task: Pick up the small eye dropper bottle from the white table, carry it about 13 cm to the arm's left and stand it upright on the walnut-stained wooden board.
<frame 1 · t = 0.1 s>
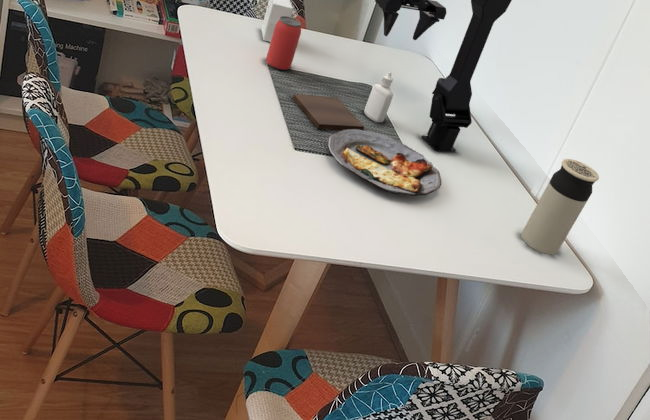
hand: (399, 37, 188), 15 cm above the table, tool pointing down, fingers open, 9 cm apart
walnut board: (327, 114, 171), on the table
eye dropper bottle: (372, 118, 178), on the table
travel mug: (538, 244, 150), on the table
food plate: (382, 169, 156), on the table
beer can: (277, 65, 187), on the table
small box: (271, 38, 203), on the table
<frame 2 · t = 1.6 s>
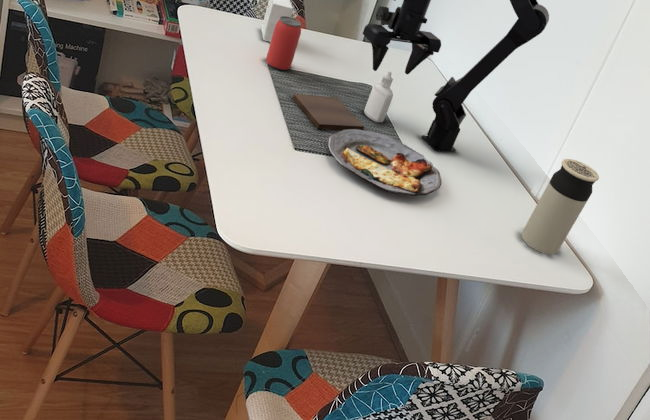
hand: (390, 72, 173), 12 cm above the table, tool pointing down, fingers open, 9 cm apart
nothing on the table moved.
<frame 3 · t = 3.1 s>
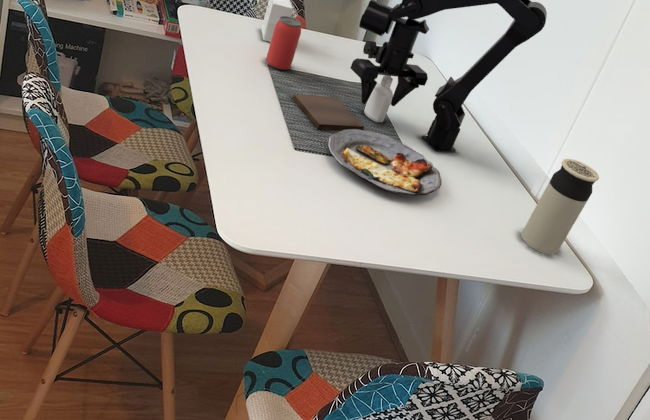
hand: (377, 104, 176), 4 cm above the table, tool pointing down, fingers closed on eye dropper bottle, 8 cm apart
eye dropper bottle: (372, 118, 178), on the table, touching gripper
everything else where it was.
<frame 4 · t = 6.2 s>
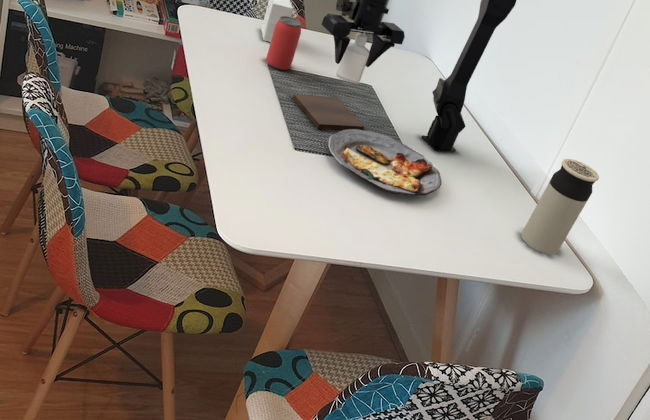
hand: (352, 64, 166), 13 cm above the table, tool pointing down, fingers closed on eye dropper bottle, 8 cm apart
eye dropper bottle: (347, 79, 168), point 9 cm above the table, touching gripper
everything else where it was.
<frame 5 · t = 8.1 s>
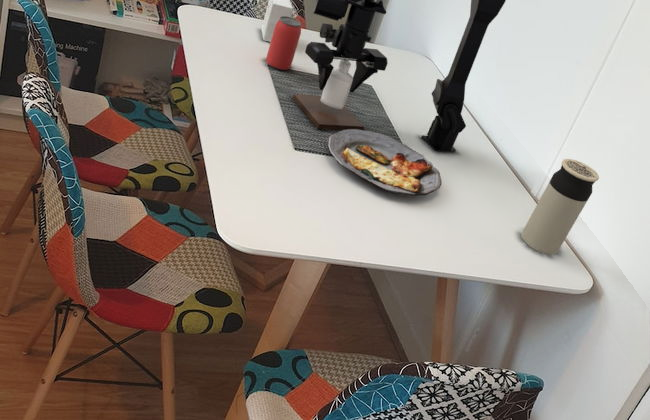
hand: (336, 90, 168), 6 cm above the table, tool pointing down, fingers closed on eye dropper bottle, 8 cm apart
eye dropper bottle: (331, 105, 170), point 2 cm above the table, touching gripper
everything else where it was.
when the fingers open (5 cm above the table, at t = 9.4 s): eye dropper bottle stays where it is, resting on walnut board.
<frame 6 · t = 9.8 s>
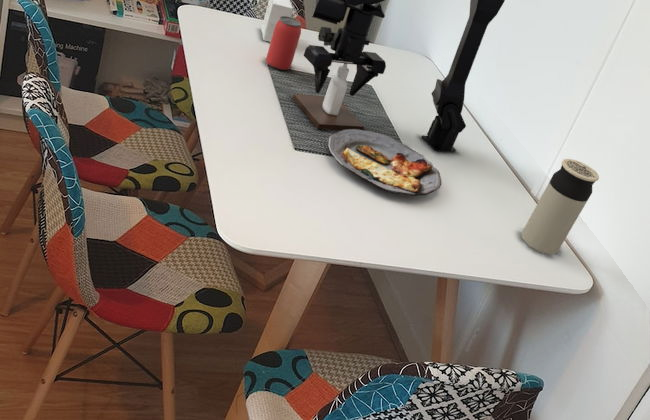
hand: (334, 93, 168), 5 cm above the table, tool pointing down, fingers open, 9 cm apart
eye dropper bottle: (329, 111, 171), point 1 cm above the table, touching walnut board
everything else where it was.
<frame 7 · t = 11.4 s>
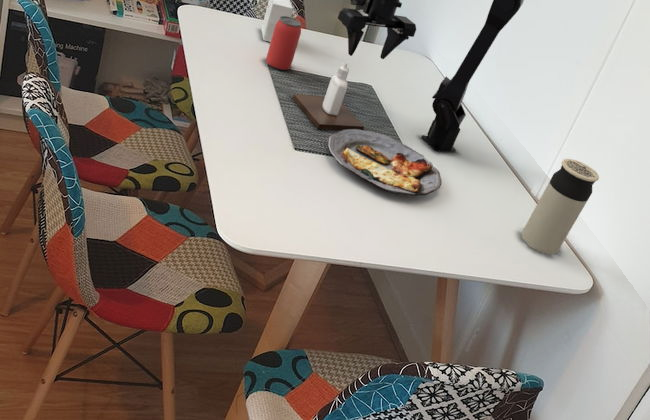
hand: (366, 56, 173), 13 cm above the table, tool pointing down, fingers open, 9 cm apart
nothing on the table moved.
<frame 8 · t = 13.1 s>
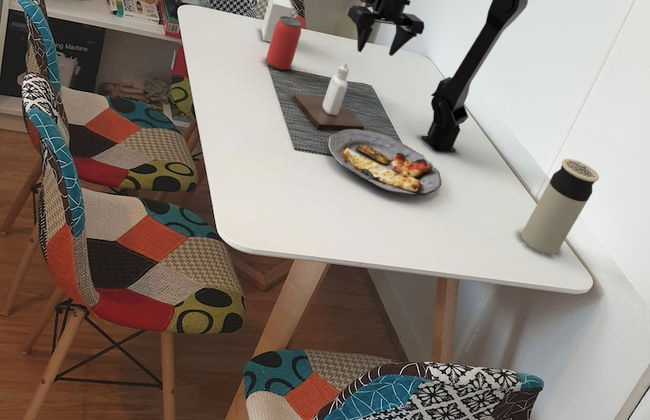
hand: (374, 53, 177), 13 cm above the table, tool pointing down, fingers open, 9 cm apart
nothing on the table moved.
at the end: eye dropper bottle inside the target area on the walnut board (0.2 cm from its centre), point 1.0 cm above the walnut board's base; eye dropper bottle tilted 0°; eye dropper bottle moved 12.9 cm from its start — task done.
